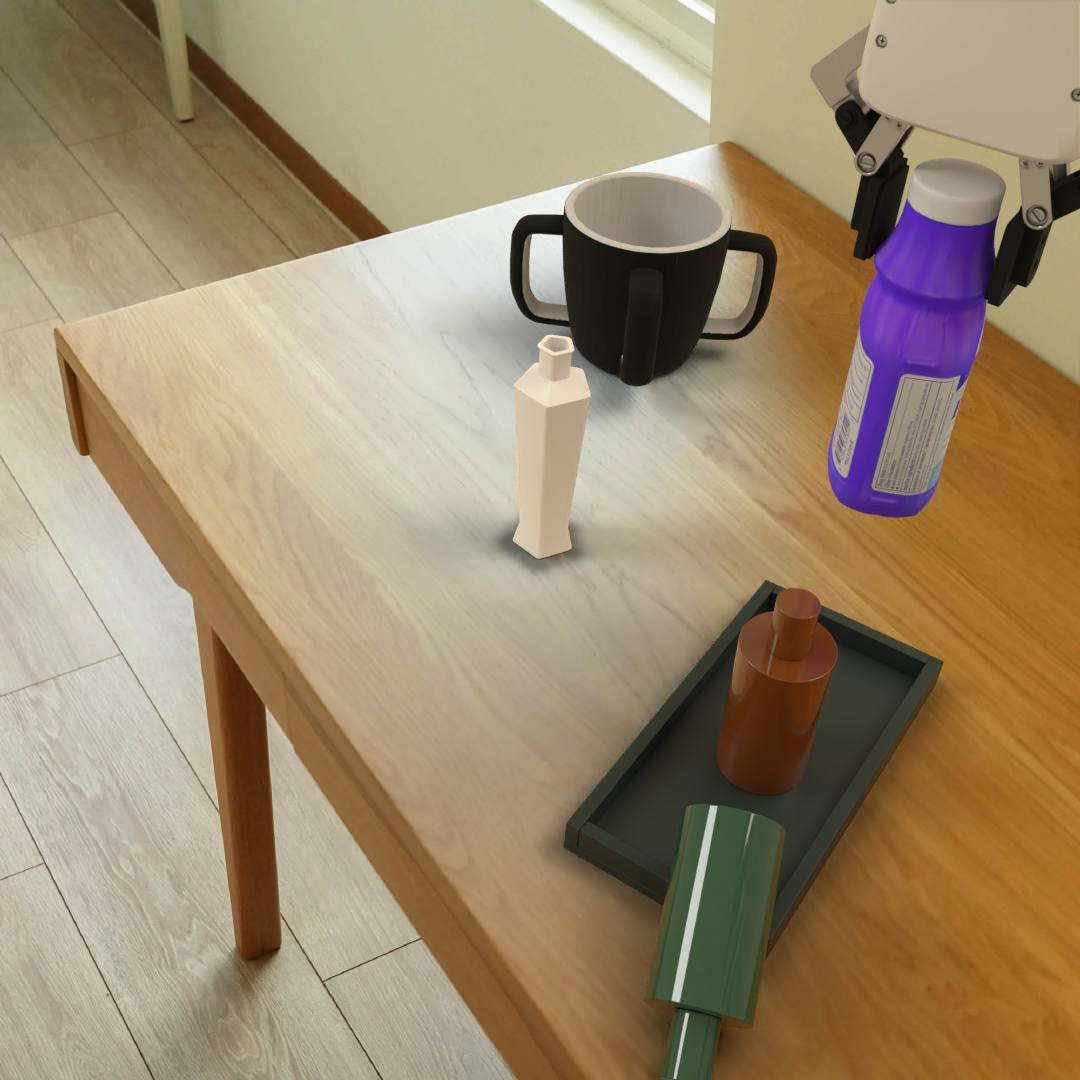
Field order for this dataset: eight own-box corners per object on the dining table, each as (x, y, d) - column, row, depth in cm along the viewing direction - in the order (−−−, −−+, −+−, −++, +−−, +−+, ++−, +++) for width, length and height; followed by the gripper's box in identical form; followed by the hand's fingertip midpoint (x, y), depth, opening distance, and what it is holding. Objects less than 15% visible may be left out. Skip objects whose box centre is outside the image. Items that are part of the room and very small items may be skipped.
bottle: (933, 538, 67) (1032, 223, 56) (819, 519, 68) (894, 204, 57) (931, 452, 73) (1022, 148, 61) (826, 435, 74) (896, 132, 62)
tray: (935, 685, 80) (944, 661, 78) (763, 964, 65) (770, 940, 64) (760, 603, 84) (766, 578, 83) (563, 847, 70) (565, 822, 68)
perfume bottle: (502, 557, 86) (510, 362, 76) (514, 513, 90) (523, 321, 80) (572, 567, 86) (590, 372, 76) (582, 523, 89) (600, 331, 79)
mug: (779, 370, 104) (807, 230, 96) (612, 434, 97) (628, 289, 89) (649, 274, 114) (665, 140, 106) (489, 326, 106) (493, 186, 99)
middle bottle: (820, 751, 75) (866, 595, 67) (781, 810, 72) (823, 654, 64) (740, 711, 77) (775, 555, 69) (698, 767, 74) (730, 610, 66)
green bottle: (808, 838, 64) (764, 1104, 59) (728, 837, 68) (680, 1088, 63) (741, 803, 61) (689, 1079, 56) (661, 804, 65) (606, 1063, 60)
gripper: (1315, -133, 49) (1145, 298, 61) (879, -216, 56) (802, 186, 68) (1271, -85, 44) (1095, 372, 56) (799, -183, 51) (732, 243, 63)
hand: (936, 266), depth 62 cm, fingers closed on bottle, 5 cm apart
